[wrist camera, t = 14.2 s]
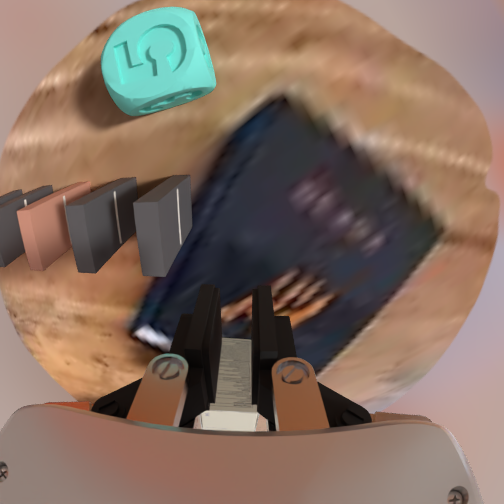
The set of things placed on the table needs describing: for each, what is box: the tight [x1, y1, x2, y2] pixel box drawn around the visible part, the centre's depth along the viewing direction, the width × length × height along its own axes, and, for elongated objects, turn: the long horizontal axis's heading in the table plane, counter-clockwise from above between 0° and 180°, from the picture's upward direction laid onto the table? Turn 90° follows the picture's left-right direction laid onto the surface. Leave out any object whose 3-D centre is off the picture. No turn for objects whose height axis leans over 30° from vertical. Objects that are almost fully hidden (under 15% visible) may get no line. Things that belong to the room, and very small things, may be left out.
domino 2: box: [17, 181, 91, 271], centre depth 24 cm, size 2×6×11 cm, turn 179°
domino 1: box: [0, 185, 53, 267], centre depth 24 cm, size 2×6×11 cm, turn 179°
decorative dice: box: [101, 7, 216, 116], centre depth 20 cm, size 8×8×8 cm
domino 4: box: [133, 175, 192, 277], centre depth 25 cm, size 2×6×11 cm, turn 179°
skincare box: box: [200, 338, 259, 432], centre depth 32 cm, size 6×4×12 cm
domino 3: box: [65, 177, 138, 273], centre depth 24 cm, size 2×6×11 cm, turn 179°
